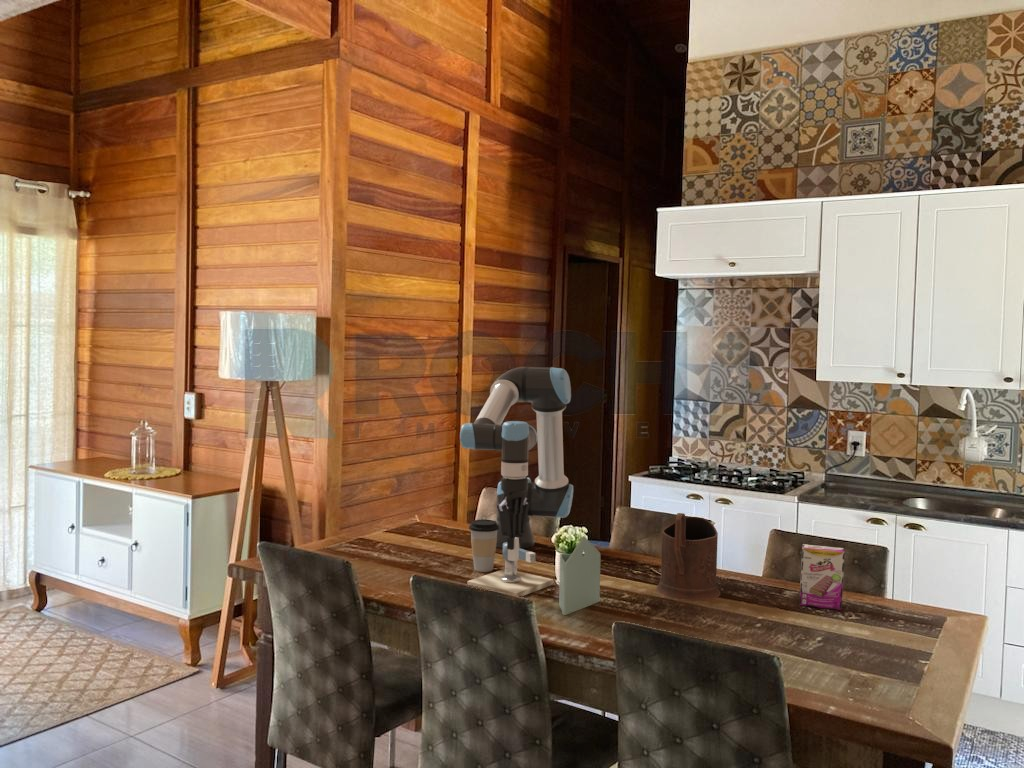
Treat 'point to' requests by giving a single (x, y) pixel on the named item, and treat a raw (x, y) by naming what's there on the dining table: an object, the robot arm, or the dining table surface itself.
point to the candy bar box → (822, 576)
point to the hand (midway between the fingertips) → (513, 560)
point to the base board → (521, 588)
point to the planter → (579, 578)
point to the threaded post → (510, 572)
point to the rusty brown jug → (689, 559)
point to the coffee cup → (483, 543)
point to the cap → (520, 554)
